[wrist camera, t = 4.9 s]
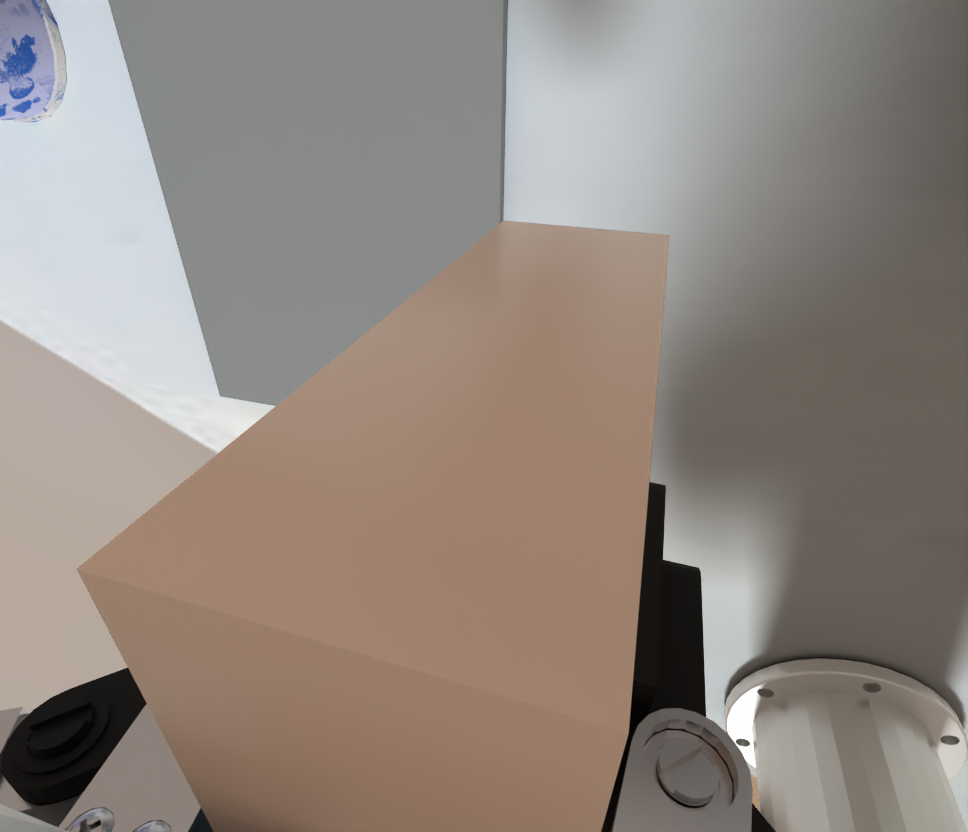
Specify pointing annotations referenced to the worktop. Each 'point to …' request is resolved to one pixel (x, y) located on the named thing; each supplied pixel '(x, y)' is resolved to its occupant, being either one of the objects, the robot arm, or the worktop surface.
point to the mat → (316, 162)
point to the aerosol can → (30, 61)
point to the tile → (417, 560)
